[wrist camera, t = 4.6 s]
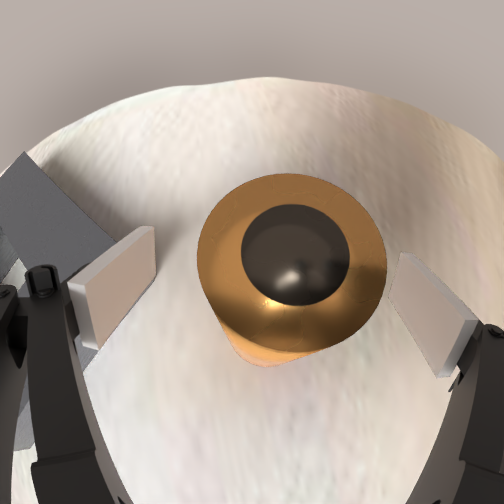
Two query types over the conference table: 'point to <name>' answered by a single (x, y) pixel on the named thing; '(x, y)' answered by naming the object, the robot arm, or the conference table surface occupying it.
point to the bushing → (290, 267)
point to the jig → (44, 246)
